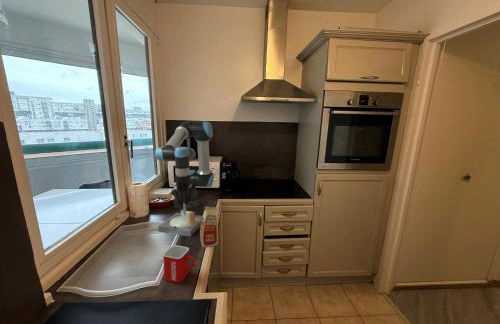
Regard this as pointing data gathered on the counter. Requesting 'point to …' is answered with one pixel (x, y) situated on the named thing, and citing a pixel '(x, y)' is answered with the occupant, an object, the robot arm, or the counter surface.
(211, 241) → the milk carton
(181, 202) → the robot arm
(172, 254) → the mug
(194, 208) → the counter surface
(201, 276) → the counter surface
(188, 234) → the panel
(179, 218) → the dial
